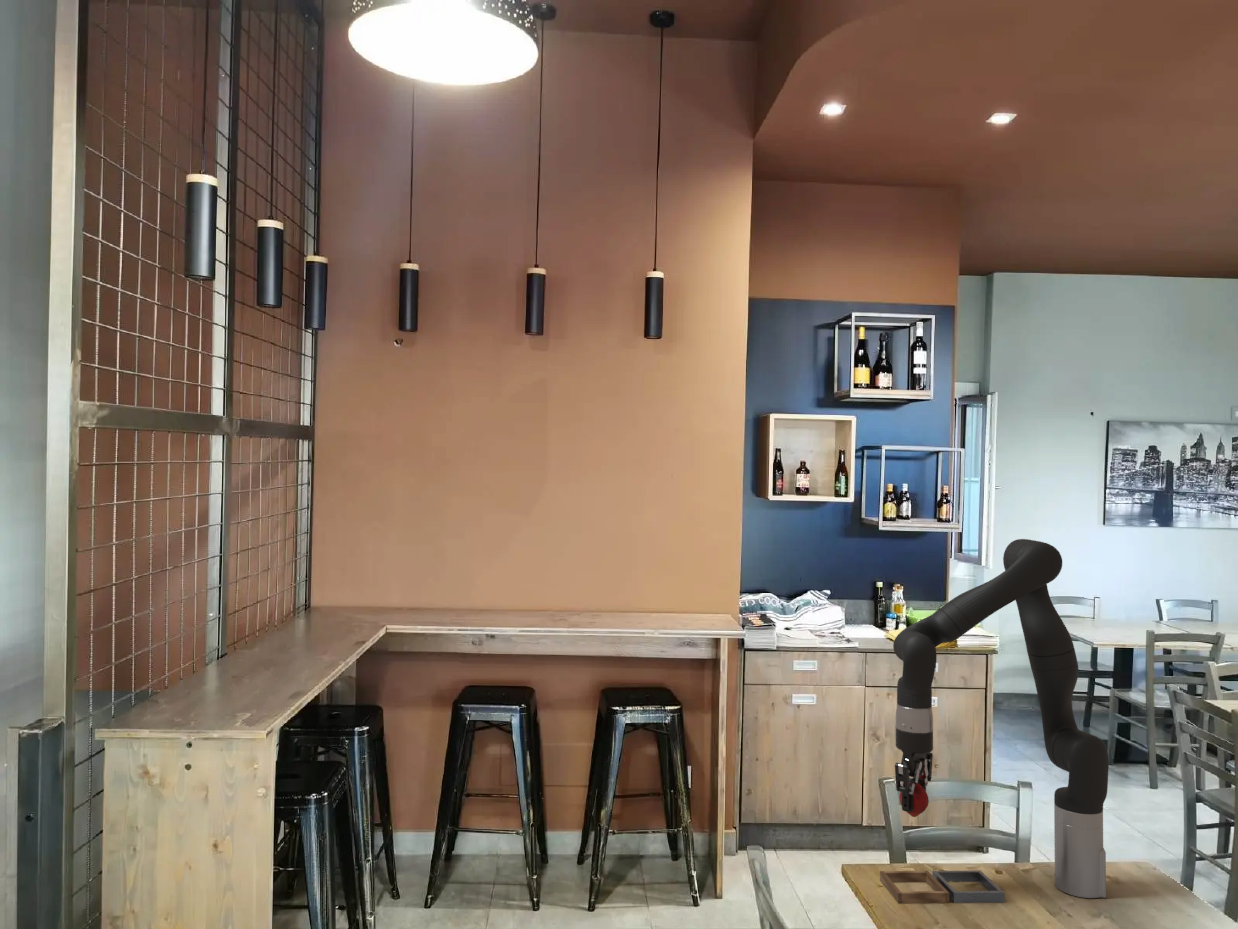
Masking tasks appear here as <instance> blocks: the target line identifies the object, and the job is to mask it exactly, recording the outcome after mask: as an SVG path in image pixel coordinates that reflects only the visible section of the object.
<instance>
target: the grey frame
mask: <svg viewBox="0 0 1238 929" xmlns="http://www.w3.org/2000/svg"><path fill="white" fill-rule="evenodd" d="M932 876H933V877H934V878H935V879H936V880H937V881H938V882H939V883H940V884H941V885H942V886H943V887H944V888H945V889H946V890H947V891H948V892H949V900H951V901H952V903H953V904H962V903H963V904H970V903H971V904H972V903H975V904H976V903H980V904H981V903H982V904H984V903H985V904H987V903H992V904H993V903H1001V904H1002V903H1005V902H1006V901H1005V895H1006V894H1005V892H1004V891H1003V889H1001V887H999V886H998V885H997V884H996V883H994V882H993V880H992V879H991V878H989V877H988V876H987V875H986V874H985V873H984V872H983V871H981V870H932ZM947 881H959V882H960V881H962V883H964V882H972V883H973V882H976V883H980V885H981V886H982V887H984V888H985V889H986V890H956V889H955V888H954V887H953V886H952V885H951V884H950V882H947ZM959 882H958V883H959ZM960 883H961V882H960Z"/></svg>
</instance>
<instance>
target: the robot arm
mask: <svg viewBox="0 0 1238 929" xmlns="http://www.w3.org/2000/svg"><path fill="white" fill-rule="evenodd" d="M1002 561H1003V568H1004V570H1005V571H1002V573H1000V574H998V575H997V576H995V577H993V578H992V579H991V580H989V581H986V582H984V583H982V584H980V585H978V586H975V587H973V588H971V589H969V590H967V591H966V590H965V591H964V592H962V593H960V594H958V595H957V596H955V597H954V598H952V599H951V600H949V601H947V603H945V604H943V605H942V606H941V607H939V608H938V609H936V611H935V612H933V613H932V614H930V615H928V616H927V617H924V618H922V619H920V620H918V621H916V622H914V623H912V624H910V625H909V626H907V627H906V628H904V629H902V630H901V631H900V632H899V633H898V634H897V635H896V636H895V638H894V641H893V645H892V646H893V652H894V654H895V656H896V657H897V658H898V659H899V660H901V661H902V664H903V665H902V676H900V678H898V680H897V684H896V687H897V688H896V708H895V709H896V710H895V747H896V748H897V749H898V750H900V751H901V752H902V758H901V762H900V763H899V762H895V763H894V771H895V772H894V773H895V774H894V776H895V788H896V789H895V790H896V792H899V793H900V792H902V806H901V810H902V811H903V812H906V813H907V812H910V813H911V812H913V792H914V786H915V784H917V783H918V784H920V785H921V786H922V787H923V788H924V789H925V791H926V792H927V787H928V785H929V782H931V781H932V776H933V774H932V772H933V756H934V755H933V750H934V714H933V707H932V706H933V697H932V696H933V691H932V690H933V689H932V686H933V682H934V678H935V673H936V666H937V658H938V657H937V647H938V646H940V645H942V644H944V643H945V644H946V643H952V642H954V641H957V639H960V638H961V637H963V636H964V635H965V634H966V633H968V632H969V631H971V630H972V629H973V628H974V627H976V626H977V625H978V624H980V623H982V621H984V620H986V619H987V618H988V617H990V616H991V615H993V614H995V613H997V611H999V610H1001V609H1003V608H1004V607H1006V606H1007V605H1009V604H1011V603H1013V602H1014V601H1015V603H1016V606H1017V611H1018V614H1019V621H1020V624H1021V628H1022V632H1023V637H1024V641H1025V649H1026V653H1027V657H1028V661H1029V666H1030V668H1031V672H1032V676H1033V679H1034V680H1033V681H1034V683H1035V684H1034V685H1035V690H1036V696H1037V698H1038V702H1039V707H1040V714H1041V720H1042V721H1041V723H1042V730H1043V738H1044V745H1045V752H1046V754H1047V756H1048V758H1049V760H1050V761H1051V763H1052V764H1053V765H1054V766H1056V767H1057V768H1059V769H1061V770H1063V771H1066V772H1068V784H1067V786H1061V787H1058V788H1056V789H1055V790H1054V794H1053V795H1054V797H1053V800H1054V802H1053V803H1054V805H1053V806H1054V808H1053V810H1054V817H1053V818H1054V825H1053V826H1054V829H1053V830H1054V835H1053V836H1054V837H1053V838H1054V875H1053V876H1054V885H1055V887H1056V888H1057V889H1058V890H1060V891H1062V892H1064V893H1066V894H1068V895H1071V896H1074V897H1078V898H1084V899H1096V898H1104V899H1106V898H1107V863H1106V862H1107V856H1106V855H1107V853H1106V852H1107V851H1106V850H1105V847H1104V803H1105V801H1106V798H1107V796H1108V783H1109V770H1110V769H1109V764H1110V763H1109V760H1110V759H1109V752H1108V749H1107V746H1106V744H1105V742H1104V741H1103V740H1102V739H1101V738H1099V737H1098V736H1097V735H1093V734H1091V733H1089V732H1086V731H1082V730H1080V729H1079V727H1078V726H1077V723H1076V720H1075V715H1074V712H1073V705H1072V704H1073V703H1072V700H1073V699H1072V698H1073V694H1074V692H1075V691H1074V690H1075V688H1076V684H1077V682H1078V678H1079V662H1078V658H1077V655H1076V650H1075V646H1074V642H1073V639H1072V636H1071V634H1070V632H1069V630H1068V628H1067V627H1066V625H1065V623H1064V621H1063V619H1062V617H1061V616H1060V615H1059V613H1058V611H1057V609H1056V607H1055V606H1054V604H1053V602H1052V599H1051V597H1050V594H1049V589H1048V584H1049V583H1051V582H1053V581H1054V580H1056V579H1057V577H1058V576H1059V574H1061V571H1062V569H1063V558H1062V555H1061V552H1060V551H1059V550H1058V549H1057V548H1056V546H1053V545H1051V544H1049V543H1048V542H1044V541H1040V540H1035V539H1034V540H1033V539H1028V538H1027V539H1026V538H1019V539H1015V540H1013V541H1011V542H1009V543H1008V545H1007V546H1006V547H1005V550H1004V553H1003V556H1002Z"/></svg>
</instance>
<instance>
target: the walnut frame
mask: <svg viewBox="0 0 1238 929" xmlns="http://www.w3.org/2000/svg"><path fill="white" fill-rule="evenodd" d="M879 882H880V883H881V884H882V885H883V887H884V888H885V889H886V890H887V892H888V893H889V894H890V895H891V896H892V898H893V899H894V900H895V902H897V904H950V898H949V892H948V891H947V890H946V889H945V888H944V887H943V886H942V885H941V884H940V883H939V882H938V881H937V880H936V879H935V878H934V877H933V873H932V872H930V871H929V870H887V871H886V870H885V871H884V870H880V871H879ZM895 883H926V884H927V883H928V884H927V885H928V886H929V887H930V886H931V887H930V888H931V889H932V891H931V890H930V891H925V890H924V891H923V890H922V891H921V890H919V891H914V890H913V891H912V890H911V891H909V890H908V891H901V890H900V889H899V888H898V886H897V885H896V884H895Z"/></svg>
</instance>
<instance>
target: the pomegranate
mask: <svg viewBox="0 0 1238 929" xmlns="http://www.w3.org/2000/svg"><path fill="white" fill-rule="evenodd" d="M898 799H899V803H900V805H901V807H902V792H900V791H899V798H898ZM929 800H930V799H929V795H928V793H927V790H926V791H925V789H924V788H923V787H922V786H921V785H920V784H918V783H917V784H915V786H914V792H913V812H911V813H910V812H906V813H907V814H908V815H909V816H910V817H912V818H917V817H918V816H919V815H921V814H923V813H924V812H925V810H926V809H927V808H928V806H929Z"/></svg>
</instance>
